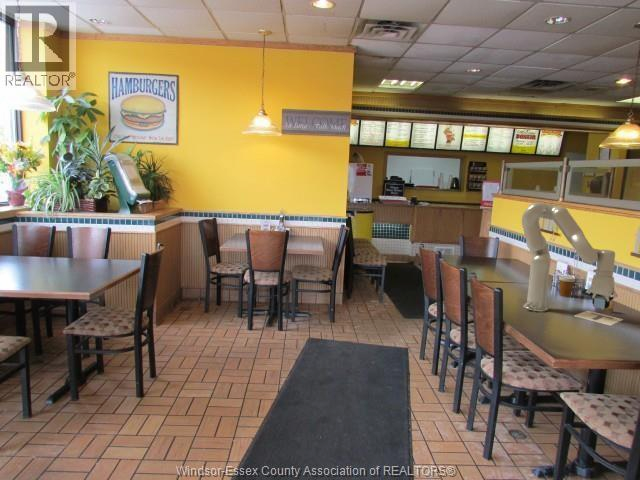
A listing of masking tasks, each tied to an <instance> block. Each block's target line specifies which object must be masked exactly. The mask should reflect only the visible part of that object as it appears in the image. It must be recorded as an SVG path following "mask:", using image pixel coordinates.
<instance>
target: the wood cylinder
mask: <svg viewBox="0 0 640 480" xmlns="http://www.w3.org/2000/svg"><path fill="white" fill-rule="evenodd" d="M614 308H615V302H614V301H612V300H611V301H610V305H609V307H608V308H607V309H601V312H604V313H609V314H611V313H612V314H613V313H614Z"/></svg>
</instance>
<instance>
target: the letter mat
mask: <svg viewBox="0 0 640 480" xmlns="http://www.w3.org/2000/svg"><path fill="white" fill-rule="evenodd" d="M573 317H575V318H580V319H583V320H587V321H591V322H596V323H598V324H603V325H606V326H613V325H615V324H616V323H620V322H621V321H623V320H624V319H623V318H621V317H620V318H619V317H615V316H611V315H607V314H603V313H599V312H596V311H591V310H585V311H582V312H580V313H577V314H575V315H573Z"/></svg>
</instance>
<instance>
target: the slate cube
mask: <svg viewBox="0 0 640 480" xmlns="http://www.w3.org/2000/svg"><path fill="white" fill-rule="evenodd" d="M605 301H606V297H604V296H597V297H596V298H594V306H593V308H596V309H600V310H602V309H605Z"/></svg>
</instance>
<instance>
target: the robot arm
mask: <svg viewBox="0 0 640 480" xmlns="http://www.w3.org/2000/svg"><path fill="white" fill-rule="evenodd" d="M541 218H543V219H546V220H551V221H553V222H554V223H555V225H556V226H557V227H558V229H559V230H560V231H561V233H562V234H563V235H564V237H565V239H566V240H567V242H568V243H570V245H571V246H572V248H573V249H574V250H575V252H576V253H577V255H578V256H579V258H580V259H581V261H583V262H584V264H588V265H593V264H595V263H596V268H595V269H593V270H592V271H593V273H595V274H593V277H592V280H591V283H590V287H588V289H586V292H587V293H588V294H589V295H590V297H591V298H592V306H593V307H594V298H596V297H598V295H600V296H603V297H604V296H605V298H606V301H605V309H607V308H608V307H609V305H610V301H612V300H614V299H616V298H618V297H619V295H618V294H617V292H616V290H615V277H614V269H615V259H616V252H615V251H614V250H611V249H598V248H593V246H592V245H591V243H590V242H589V241H588V239H587V238H586V236H585V234H584V232H583V230H582V228H581V227H580V225H579V224H578V222H577V221H576V220H575V219H574V217H573V216H572V215H571V213H570V212H569V210H568V209H567V207H565V206H562V205H561V206H560V205H556V204H551V203H546V202H540V201H537V202H534V203H532V204H530V205H529V206H527V208H526V209H525V210H524V212H523V214H522V217H521V225H522V230H523V233H524V234H523V235H524V238H525V242H526V246H527V248H528V249H529V252H530V255H531V260H530V267H529V280H528V289H527V297H526V303H524V304H523V308H525V309H526V310H530V311H532V312H533V311H534V312H547V311H549V308H548V307H547V306H546V304H547V301H546V300H547V293H548V285H549V276H550V269H551V262H552V261H551V260H552V258H551V257H552V256H551V255H550V250H549V247H548V243H547V241H546V237H545V236H544V235H543V234H542V230H541V226H540V221H539V220H540V219H541Z"/></svg>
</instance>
